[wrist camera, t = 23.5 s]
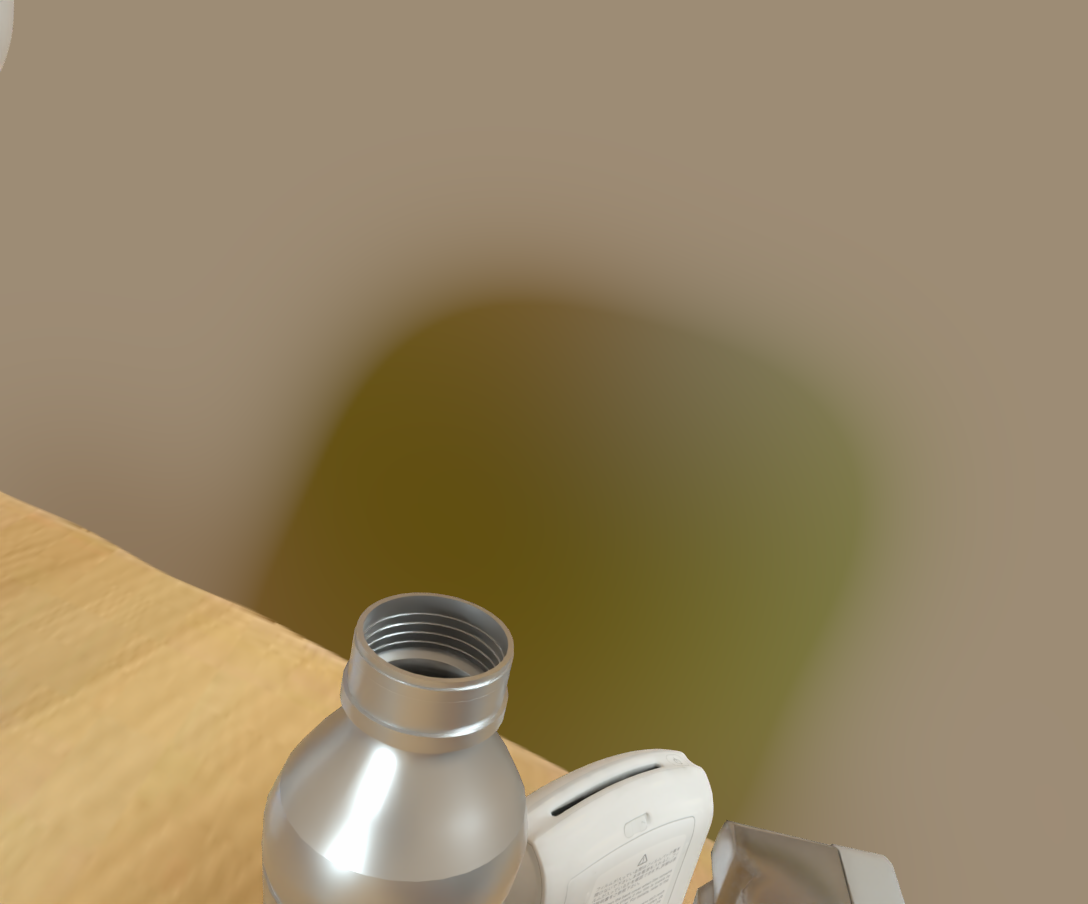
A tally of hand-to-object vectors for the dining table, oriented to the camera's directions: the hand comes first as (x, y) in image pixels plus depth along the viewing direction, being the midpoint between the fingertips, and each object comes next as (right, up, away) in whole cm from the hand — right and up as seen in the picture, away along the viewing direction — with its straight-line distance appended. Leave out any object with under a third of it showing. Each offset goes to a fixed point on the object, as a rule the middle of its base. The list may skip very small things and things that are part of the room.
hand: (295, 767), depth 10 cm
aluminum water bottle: (-4, -19, +20) cm, 29 cm away
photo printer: (+3, -21, +33) cm, 39 cm away
